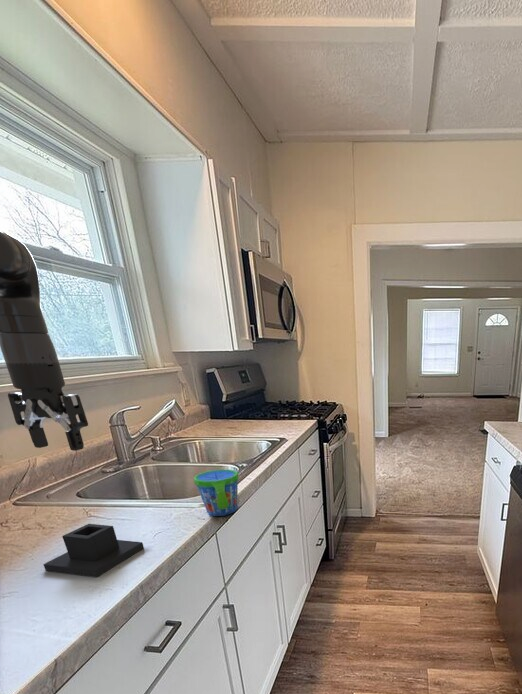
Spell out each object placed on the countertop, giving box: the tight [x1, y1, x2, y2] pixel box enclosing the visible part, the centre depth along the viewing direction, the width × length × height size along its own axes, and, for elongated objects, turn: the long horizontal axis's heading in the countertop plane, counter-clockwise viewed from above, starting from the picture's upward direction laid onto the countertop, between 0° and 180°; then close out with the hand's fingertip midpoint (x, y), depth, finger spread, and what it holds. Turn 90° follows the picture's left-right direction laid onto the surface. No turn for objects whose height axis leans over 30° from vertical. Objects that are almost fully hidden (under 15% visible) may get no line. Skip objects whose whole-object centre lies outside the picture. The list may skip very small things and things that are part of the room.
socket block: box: [61, 523, 119, 561], centre depth 81 cm, size 6×6×5 cm
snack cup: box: [193, 469, 240, 517], centre depth 104 cm, size 16×10×10 cm
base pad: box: [42, 539, 145, 578], centre depth 82 cm, size 12×12×4 cm
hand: (59, 448), depth 79 cm, fingers open, 8 cm apart
